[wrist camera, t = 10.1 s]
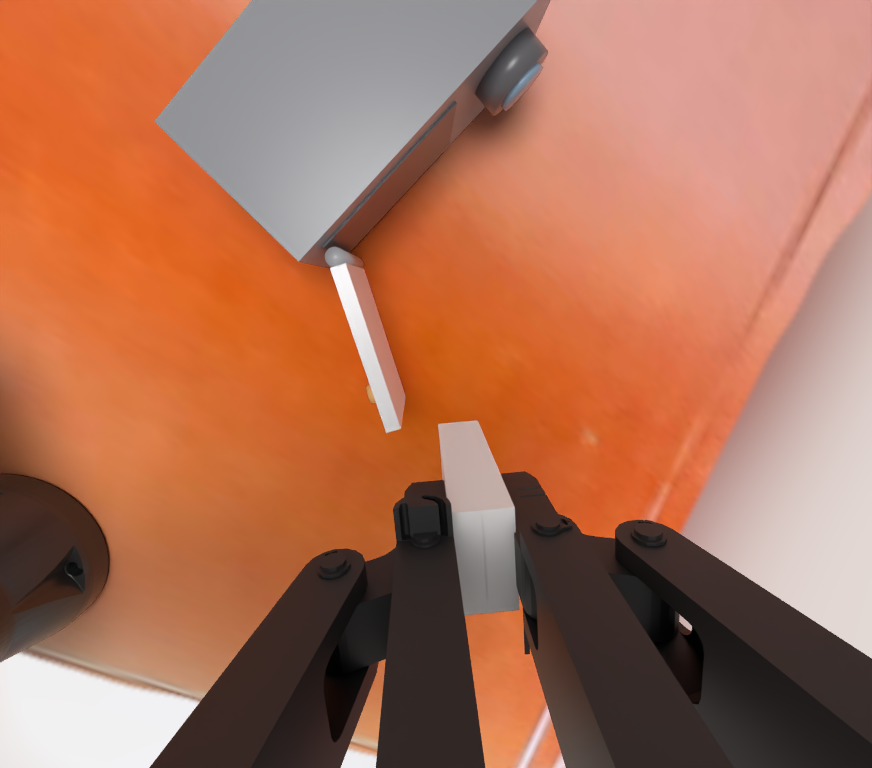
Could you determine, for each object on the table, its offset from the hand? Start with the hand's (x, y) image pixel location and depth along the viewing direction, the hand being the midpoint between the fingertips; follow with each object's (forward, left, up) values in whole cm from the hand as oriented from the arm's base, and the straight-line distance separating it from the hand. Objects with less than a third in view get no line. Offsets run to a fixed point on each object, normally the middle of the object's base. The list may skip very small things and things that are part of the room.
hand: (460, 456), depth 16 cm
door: (-2, +6, -20) cm, 21 cm away
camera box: (+9, +16, -20) cm, 28 cm away
